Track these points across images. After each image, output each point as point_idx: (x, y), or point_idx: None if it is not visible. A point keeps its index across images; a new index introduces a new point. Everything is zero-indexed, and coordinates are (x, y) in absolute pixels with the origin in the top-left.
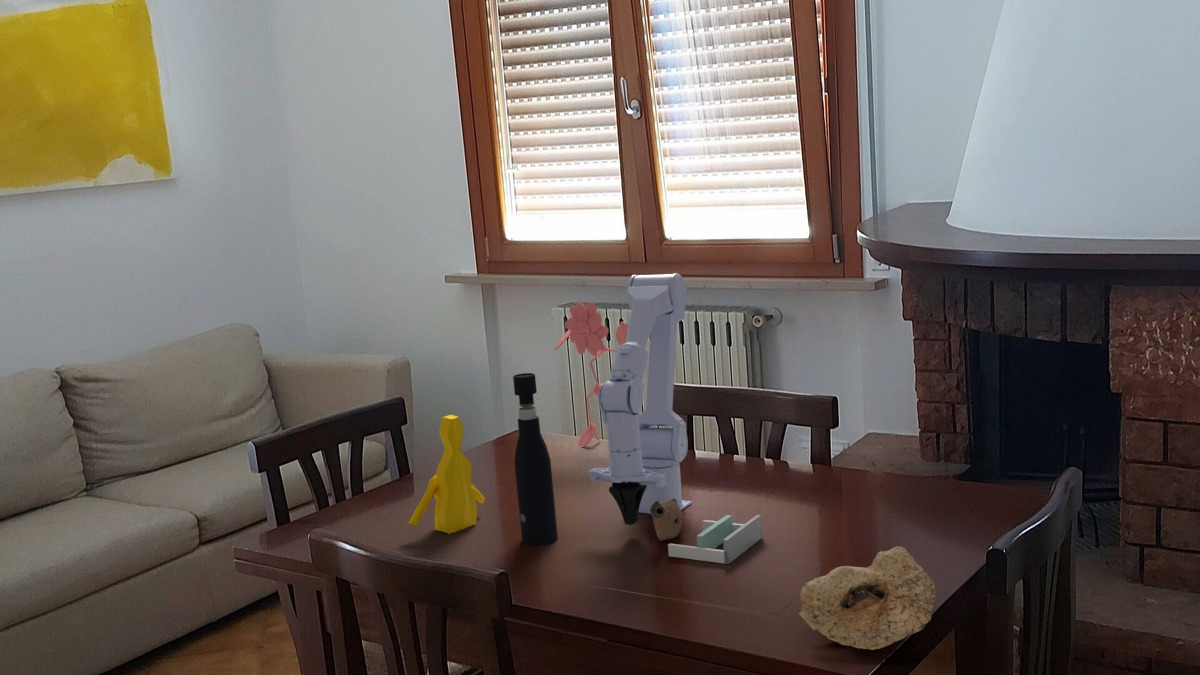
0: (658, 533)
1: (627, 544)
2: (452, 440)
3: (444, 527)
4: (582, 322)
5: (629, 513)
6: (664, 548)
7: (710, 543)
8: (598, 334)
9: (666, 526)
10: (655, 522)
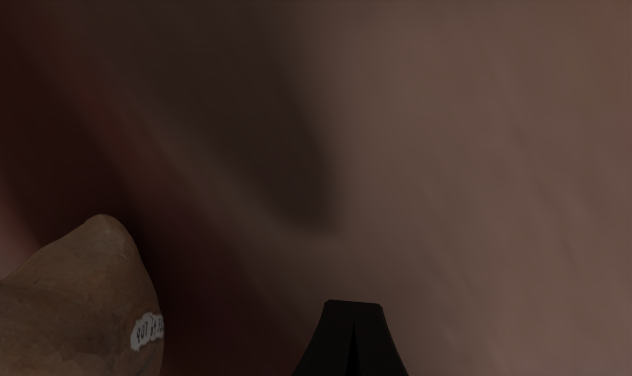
0: (101, 240)
1: (320, 157)
2: None
3: None
4: None
5: (316, 355)
6: (60, 150)
7: None
8: None
9: (10, 274)
10: (77, 287)
